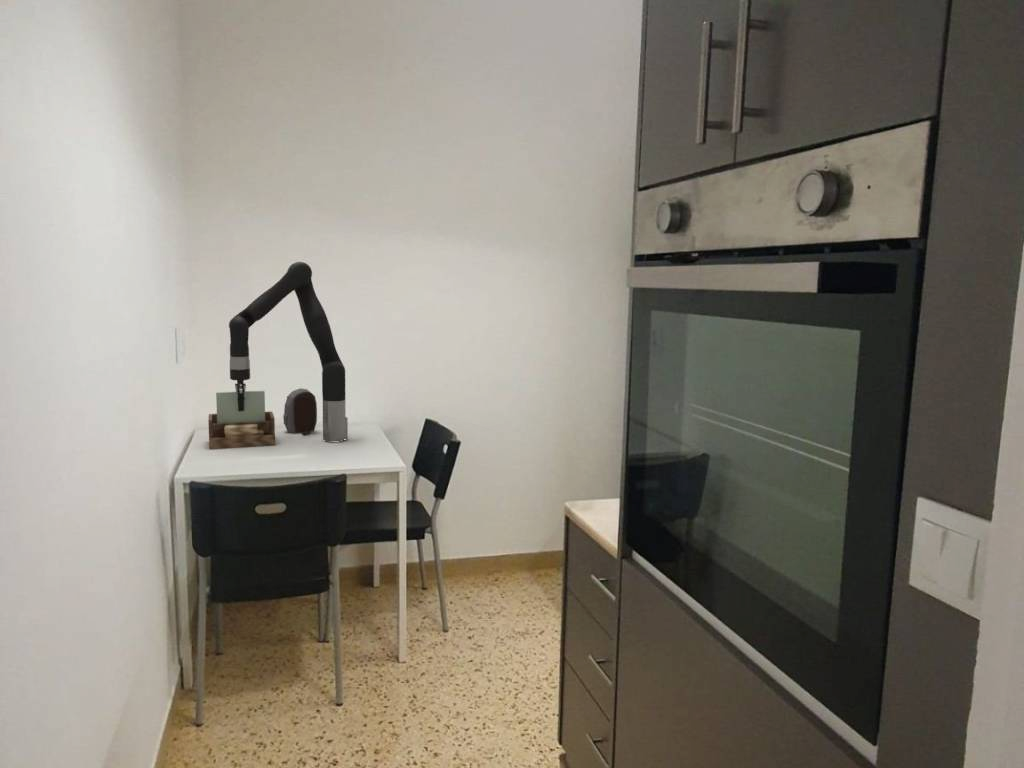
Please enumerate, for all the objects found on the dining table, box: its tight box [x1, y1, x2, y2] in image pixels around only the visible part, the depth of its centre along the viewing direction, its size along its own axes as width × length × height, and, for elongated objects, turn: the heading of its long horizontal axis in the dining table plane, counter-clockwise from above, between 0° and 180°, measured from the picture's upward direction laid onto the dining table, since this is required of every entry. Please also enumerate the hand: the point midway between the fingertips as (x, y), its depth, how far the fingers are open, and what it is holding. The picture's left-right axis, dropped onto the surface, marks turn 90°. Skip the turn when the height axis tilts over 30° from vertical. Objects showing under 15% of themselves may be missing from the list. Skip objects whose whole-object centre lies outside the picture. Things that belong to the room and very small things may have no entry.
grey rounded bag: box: [282, 387, 318, 435], centre depth 313 cm, size 15×8×20 cm, turn 136°
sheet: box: [215, 390, 266, 424], centre depth 291 cm, size 18×2×20 cm, turn 112°
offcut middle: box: [225, 430, 264, 438], centre depth 286 cm, size 14×5×2 cm, turn 115°
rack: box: [207, 410, 276, 450], centre depth 288 cm, size 24×14×12 cm, turn 112°
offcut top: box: [224, 424, 258, 434], centre depth 285 cm, size 12×5×2 cm, turn 109°
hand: (241, 410), depth 290 cm, fingers closed on sheet, 2 cm apart
